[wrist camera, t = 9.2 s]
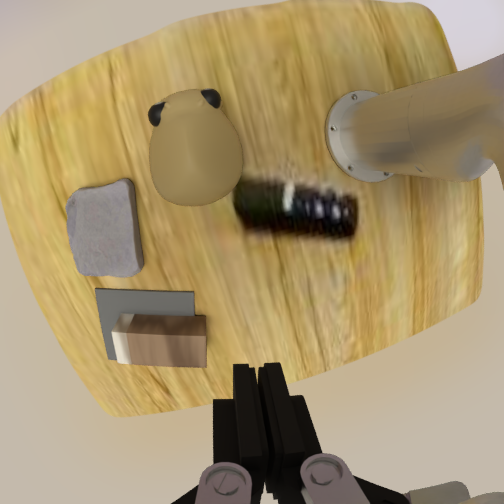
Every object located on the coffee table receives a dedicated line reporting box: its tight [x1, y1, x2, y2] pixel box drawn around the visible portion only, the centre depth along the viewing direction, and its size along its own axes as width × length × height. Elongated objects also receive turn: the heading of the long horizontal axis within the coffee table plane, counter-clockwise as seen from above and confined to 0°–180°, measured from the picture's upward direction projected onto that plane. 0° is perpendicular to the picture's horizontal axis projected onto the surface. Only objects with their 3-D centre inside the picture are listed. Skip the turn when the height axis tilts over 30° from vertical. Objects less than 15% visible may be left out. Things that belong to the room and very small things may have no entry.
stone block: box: [66, 179, 144, 277], centre depth 33 cm, size 12×5×10 cm
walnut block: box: [112, 313, 207, 368], centre depth 37 cm, size 5×5×12 cm
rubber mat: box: [95, 288, 195, 360], centre depth 39 cm, size 14×12×1 cm
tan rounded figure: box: [148, 89, 243, 206], centre depth 28 cm, size 10×12×11 cm
